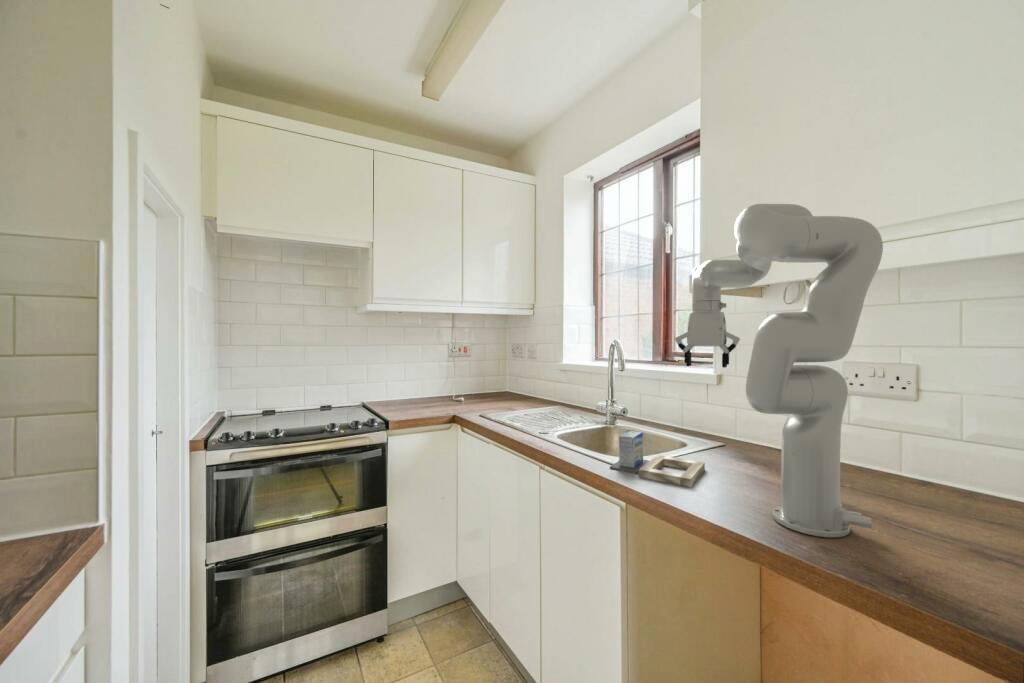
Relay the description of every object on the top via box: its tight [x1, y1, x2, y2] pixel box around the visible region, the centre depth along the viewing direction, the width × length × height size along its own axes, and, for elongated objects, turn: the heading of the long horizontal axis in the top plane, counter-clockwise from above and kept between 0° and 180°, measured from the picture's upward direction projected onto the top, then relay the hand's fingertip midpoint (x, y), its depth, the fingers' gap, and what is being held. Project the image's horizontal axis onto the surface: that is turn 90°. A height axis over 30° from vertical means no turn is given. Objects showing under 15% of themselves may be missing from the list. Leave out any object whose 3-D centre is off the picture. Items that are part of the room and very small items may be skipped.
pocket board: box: [638, 454, 706, 488], centre depth 113 cm, size 13×16×2 cm
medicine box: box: [618, 430, 644, 468], centre depth 120 cm, size 8×4×9 cm, turn 144°
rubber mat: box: [609, 459, 650, 475], centre depth 120 cm, size 8×12×1 cm, turn 144°
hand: (706, 366), depth 122 cm, fingers open, 9 cm apart
